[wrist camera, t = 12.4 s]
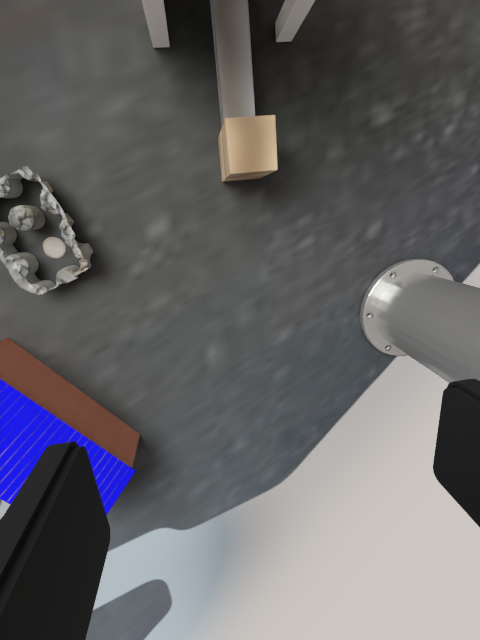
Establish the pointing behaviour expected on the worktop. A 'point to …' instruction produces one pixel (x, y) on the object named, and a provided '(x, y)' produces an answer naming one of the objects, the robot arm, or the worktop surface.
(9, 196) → the egg carton
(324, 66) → the worktop surface
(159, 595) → the worktop surface
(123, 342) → the worktop surface
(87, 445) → the house
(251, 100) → the push stick
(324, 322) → the worktop surface
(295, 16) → the cabinet
